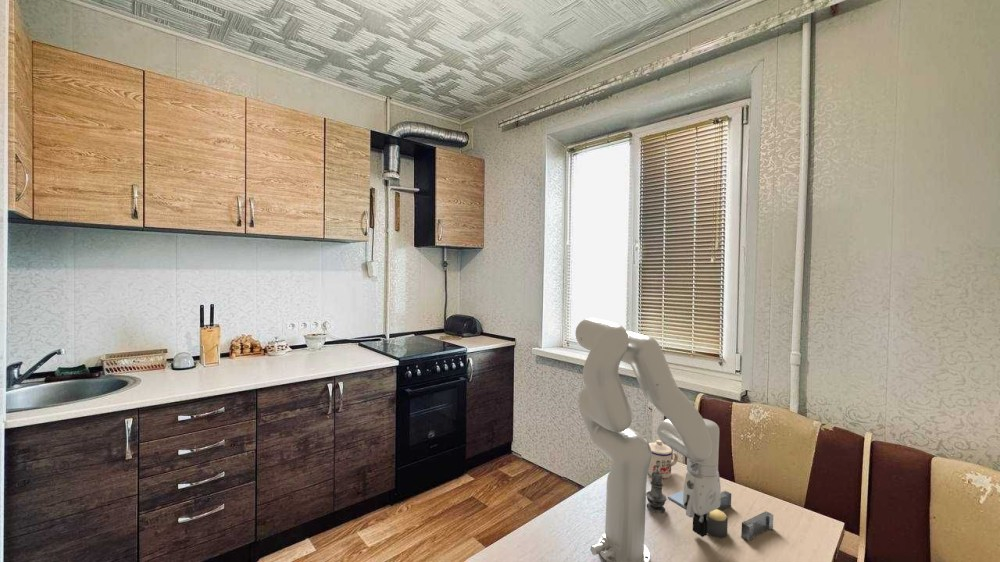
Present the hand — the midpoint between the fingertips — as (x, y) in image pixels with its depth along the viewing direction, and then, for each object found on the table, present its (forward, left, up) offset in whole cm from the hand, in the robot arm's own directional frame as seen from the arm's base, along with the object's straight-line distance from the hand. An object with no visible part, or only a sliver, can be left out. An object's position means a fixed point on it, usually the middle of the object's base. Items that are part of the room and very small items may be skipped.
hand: (699, 533), depth 108 cm
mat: (+14, +12, -1) cm, 18 cm away
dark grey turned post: (+1, +15, -2) cm, 15 cm away
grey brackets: (+17, 0, -1) cm, 17 cm away
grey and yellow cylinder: (+7, 0, -2) cm, 7 cm away
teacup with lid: (+21, +29, -2) cm, 36 cm away
